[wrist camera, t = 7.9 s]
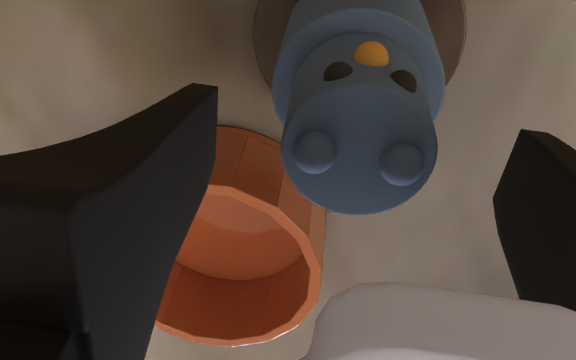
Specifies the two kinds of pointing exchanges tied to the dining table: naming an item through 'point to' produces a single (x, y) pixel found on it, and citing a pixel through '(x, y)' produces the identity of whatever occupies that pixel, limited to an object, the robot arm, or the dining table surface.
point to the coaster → (436, 3)
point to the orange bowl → (245, 251)
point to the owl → (358, 102)
